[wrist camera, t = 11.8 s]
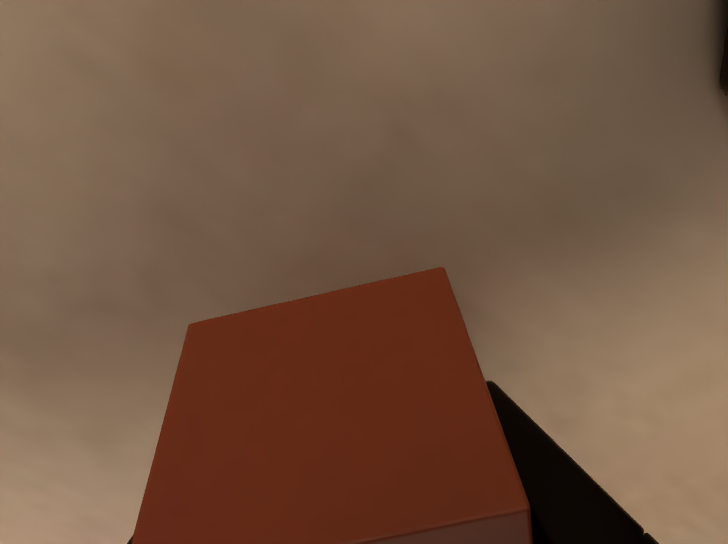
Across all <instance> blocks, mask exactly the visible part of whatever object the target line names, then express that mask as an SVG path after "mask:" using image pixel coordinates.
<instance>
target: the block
mask: <svg viewBox="0 0 728 544" xmlns="http://www.w3.org/2000/svg"><path fill="white" fill-rule="evenodd" d="M131 544H533V539H532V526H531V513H530V505H529V502H528V499H527V497H526V494H525V491H524V488H523V485H522V483H521V480H520V477H519V474H518V471H517V469H516V466H515V463H514V460H513V457H512V455H511V452H510V449H509V446H508V443H507V441H506V438H505V435H504V432H503V429H502V427H501V424H500V421H499V418H498V416H497V413H496V410H495V407H494V404H493V402H492V399H491V396H490V393H489V390H488V388H487V385H486V382H485V379H484V376H483V374H482V371H481V368H480V365H479V362H478V360H477V357H476V354H475V351H474V348H473V346H472V343H471V340H470V337H469V335H468V332H467V329H466V326H465V323H464V321H463V318H462V315H461V312H460V309H459V307H458V304H457V301H456V298H455V295H454V293H453V290H452V287H451V284H450V281H449V279H448V276H447V273H446V270H445V268H444V267H439V268H434V269H430V270H425V271H421V272H416V273H412V274H408V275H403V276H399V277H394V278H390V279H385V280H381V281H376V282H372V283H368V284H363V285H359V286H354V287H350V288H345V289H341V290H336V291H332V292H328V293H323V294H319V295H314V296H310V297H305V298H301V299H296V300H292V301H288V302H283V303H279V304H274V305H270V306H265V307H261V308H257V309H252V310H248V311H243V312H239V313H234V314H230V315H225V316H221V317H217V318H212V319H208V320H203V321H199V322H194V323H191V324H189V325H188V329H187V333H186V337H185V341H184V344H183V348H182V352H181V356H180V360H179V363H178V367H177V371H176V375H175V379H174V383H173V386H172V390H171V394H170V398H169V402H168V405H167V409H166V413H165V417H164V421H163V424H162V428H161V432H160V436H159V440H158V443H157V447H156V451H155V455H154V459H153V463H152V466H151V470H150V474H149V478H148V482H147V485H146V489H145V493H144V497H143V501H142V504H141V508H140V512H139V516H138V520H137V523H136V527H135V531H134V535H133V539H132V543H131Z"/></svg>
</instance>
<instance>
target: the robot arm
mask: <svg viewBox="0 0 728 544" xmlns="http://www.w3.org/2000/svg"><path fill="white" fill-rule="evenodd" d="M720 85H721V89H722V91H723V92H724V94H725V95H726V96H728V29H727V36H726V43H725V49H724V56H723V62H722V69H721V76H720ZM485 382H486V385H487V388H488V390H489V393H490V396H491V399H492V402H493V404H494V407H495V410H496V413H497V416H498V418H499V421H500V424H501V427H502V429H503V432H504V435H505V438H506V441H507V443H508V446H509V449H510V452H511V455H512V457H513V460H514V463H515V466H516V469H517V471H518V474H519V477H520V480H521V483H522V485H523V488H524V491H525V494H526V497H527V499H528V502H529V505H530V513H531V526H532V539H533V544H659V543H658V542H657V541H656V540H655V539H654V538H653V537H652V536H651V535H650V534H648V533H644V529H643V528H642V527H641V526H640V525H639V524H638V523H637V522H636V521H635V520H634V519H633V518H632V517H631V516H630V515H629V514H628V513H627V512H626V511H625V510H624V509H623V508H622V507H621V506H620V505H619V504H618V503H617V502H616V501H615V500H614V499H613V498H612V497H611V496H610V495H609V494H608V493H607V492H605V491H604V490H603V489H602V488H601V487H600V486H599V485H598V484H597V483H596V482H595V481H594V480H593V479H592V478H591V477H590V476H589V475H588V474H587V473H586V472H585V471H584V470H583V469H582V468H581V467H580V466H579V465H578V464H577V463H576V462H575V461H574V460H573V459H572V458H571V457H570V456H569V455H568V454H567V453H566V452H565V451H564V450H563V449H562V448H561V447H560V446H559V445H558V444H557V443H556V442H554V441H553V440H552V439H551V438H550V437H549V436H548V435H547V434H546V433H545V432H544V431H543V430H542V429H541V428H540V427H539V426H538V425H537V424H536V423H535V422H534V421H533V420H532V419H531V418H530V417H529V416H528V415H527V414H526V413H525V412H524V411H523V410H522V409H521V408H520V407H519V406H518V405H517V404H516V403H515V402H514V401H513V400H512V399H511V398H510V397H509V396H508V395H507V394H506V393H505V392H503V391H502V390H501V389H500V388H499V387H498V386H497V385H496V384H495V383H494V382H492V381H485ZM643 534H644V535H643ZM133 535H134V534H133ZM132 539H133V536H132V537H131V539H130V540H129V542H128V543H127V544H131V543H132Z"/></svg>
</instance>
